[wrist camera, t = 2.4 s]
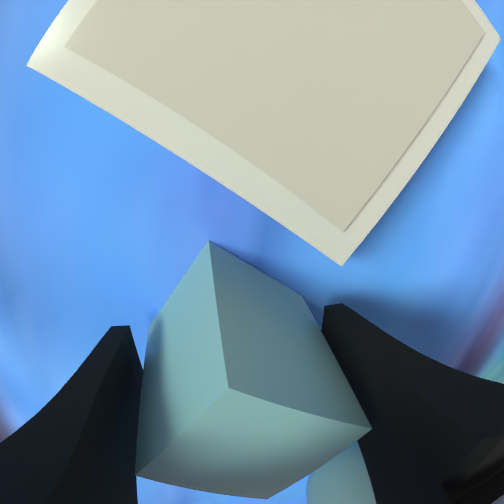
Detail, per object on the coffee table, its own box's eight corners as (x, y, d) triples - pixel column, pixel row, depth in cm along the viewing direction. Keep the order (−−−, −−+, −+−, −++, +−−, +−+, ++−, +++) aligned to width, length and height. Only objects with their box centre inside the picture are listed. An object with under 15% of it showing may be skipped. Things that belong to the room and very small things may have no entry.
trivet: (455, 41, 9) (503, 38, 6) (313, 233, 11) (343, 269, 9) (255, -123, 5) (271, -161, 3) (63, 71, 8) (23, 64, 5)
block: (302, 295, 12) (372, 428, 6) (238, 366, 13) (266, 499, 7) (208, 240, 10) (228, 388, 5) (149, 326, 11) (135, 475, 6)
